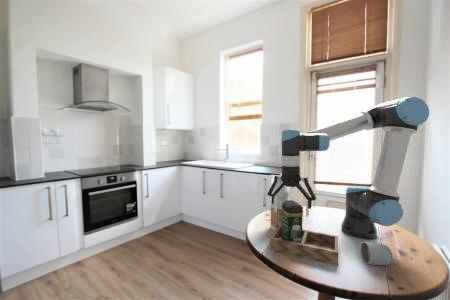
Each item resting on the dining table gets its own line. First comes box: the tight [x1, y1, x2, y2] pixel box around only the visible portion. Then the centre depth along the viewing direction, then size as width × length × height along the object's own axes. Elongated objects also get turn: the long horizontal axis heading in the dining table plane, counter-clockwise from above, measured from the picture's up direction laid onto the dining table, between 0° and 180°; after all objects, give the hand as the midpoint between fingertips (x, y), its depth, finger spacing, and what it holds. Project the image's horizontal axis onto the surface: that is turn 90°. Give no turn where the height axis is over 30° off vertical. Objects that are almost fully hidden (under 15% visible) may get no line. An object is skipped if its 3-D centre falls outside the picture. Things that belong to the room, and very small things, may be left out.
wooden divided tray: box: [269, 225, 339, 267], centre depth 92 cm, size 26×15×5 cm, turn 63°
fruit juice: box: [270, 174, 290, 232], centre depth 112 cm, size 9×9×28 cm
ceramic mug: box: [359, 241, 394, 266], centre depth 83 cm, size 11×8×8 cm
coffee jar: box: [282, 199, 304, 243], centre depth 94 cm, size 10×8×19 cm
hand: (290, 213), depth 95 cm, fingers open, 13 cm apart
